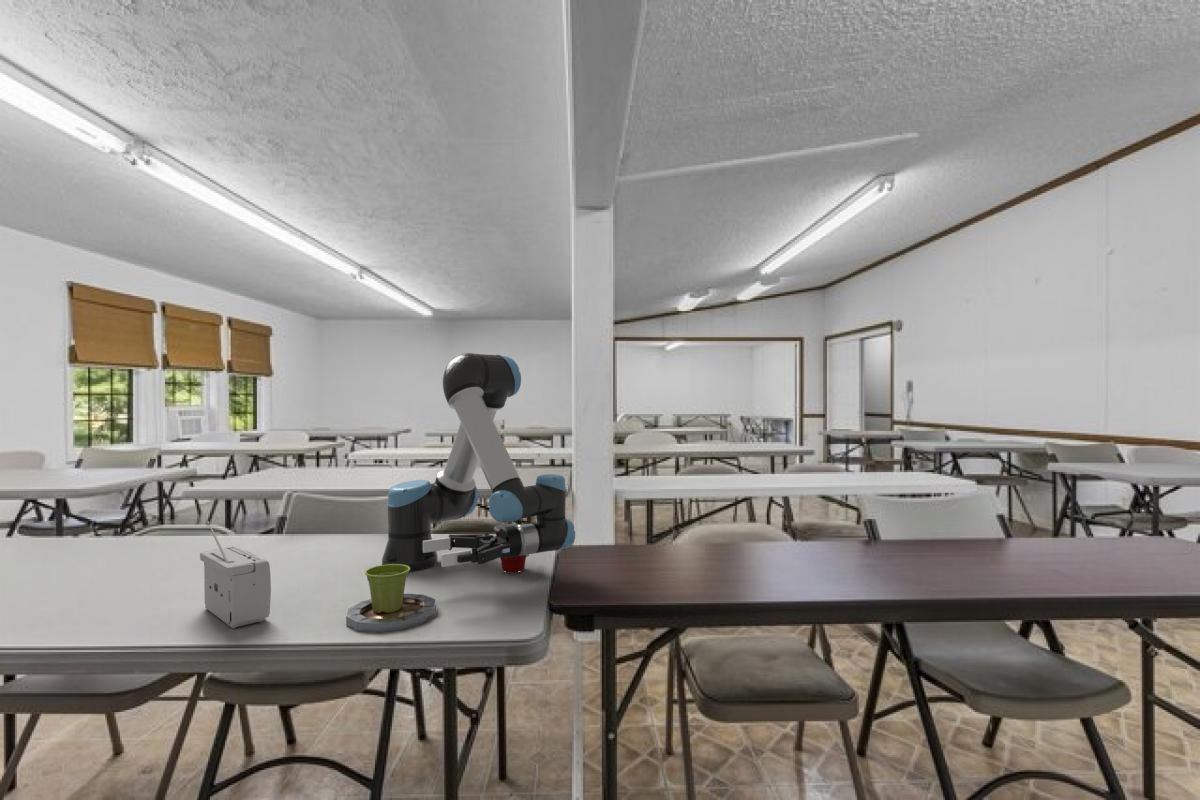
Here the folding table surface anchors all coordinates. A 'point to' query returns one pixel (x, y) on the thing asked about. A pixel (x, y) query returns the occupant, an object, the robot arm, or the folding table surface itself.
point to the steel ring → (392, 615)
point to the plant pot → (387, 586)
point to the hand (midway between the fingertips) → (431, 553)
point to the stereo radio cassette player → (236, 585)
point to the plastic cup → (514, 562)
